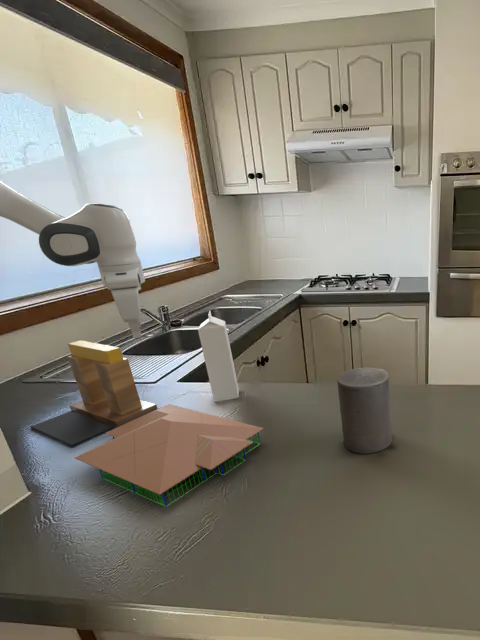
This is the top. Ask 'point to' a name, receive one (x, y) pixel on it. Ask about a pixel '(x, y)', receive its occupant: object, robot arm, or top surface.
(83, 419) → the mat
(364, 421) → the pillar candle
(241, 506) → the top surface
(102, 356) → the bar
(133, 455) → the house
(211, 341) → the milk
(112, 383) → the tower
